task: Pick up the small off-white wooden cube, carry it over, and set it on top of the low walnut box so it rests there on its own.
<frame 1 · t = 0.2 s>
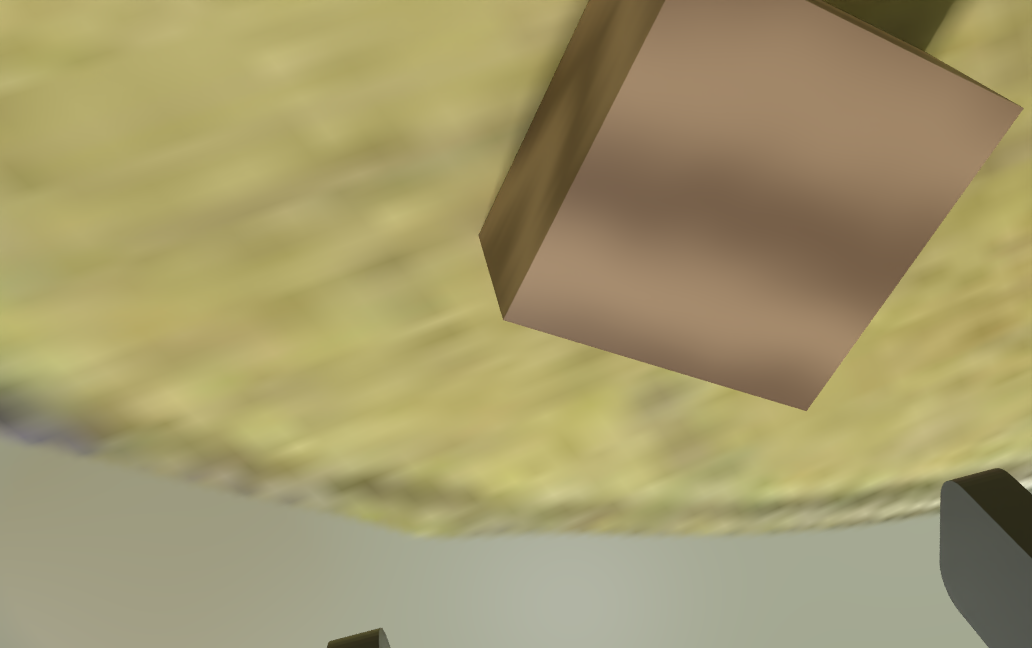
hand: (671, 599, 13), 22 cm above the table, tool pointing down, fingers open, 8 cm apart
walnut box: (695, 141, 34), on the table
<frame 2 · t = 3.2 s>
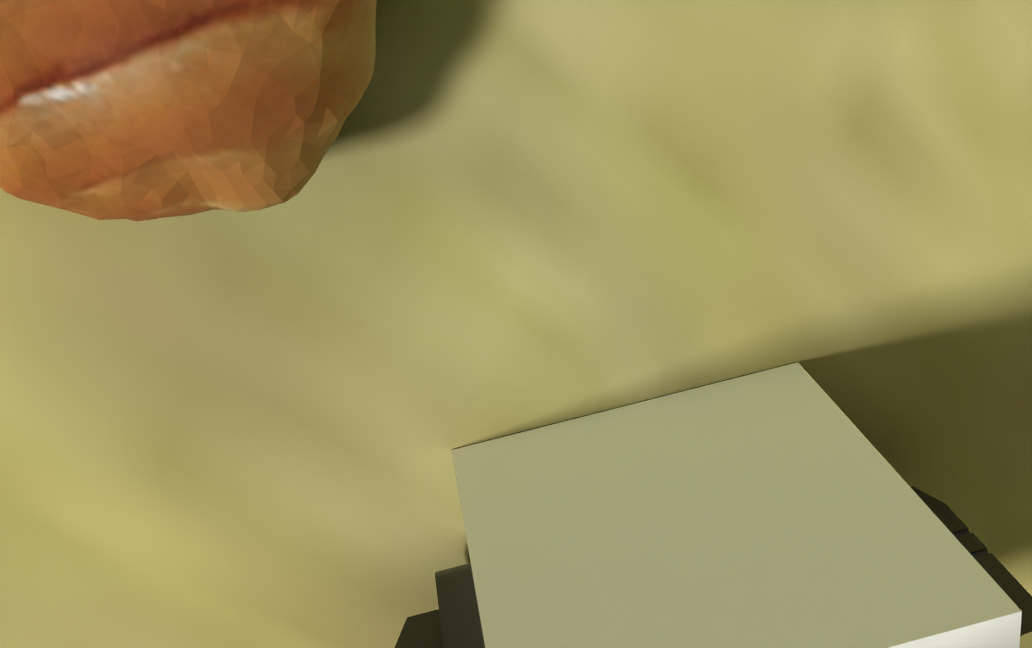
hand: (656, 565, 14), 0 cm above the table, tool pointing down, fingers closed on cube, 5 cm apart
cube: (649, 543, 14), on the table, touching gripper
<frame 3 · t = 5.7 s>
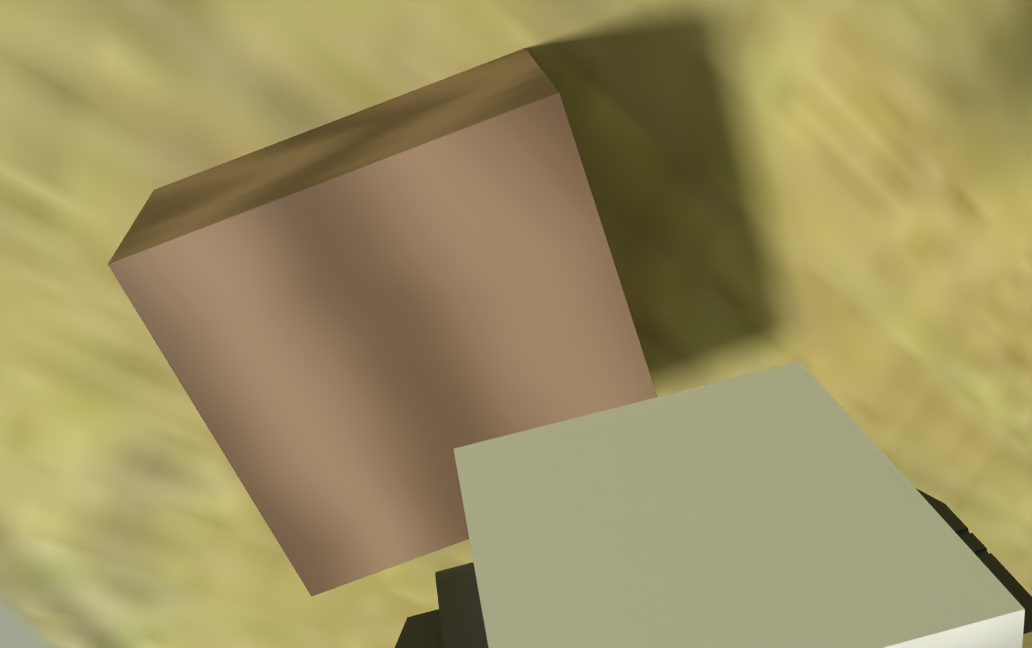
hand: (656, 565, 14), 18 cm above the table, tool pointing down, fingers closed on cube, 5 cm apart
cube: (651, 542, 14), point 18 cm above the table, touching gripper
walnut box: (412, 284, 32), on the table
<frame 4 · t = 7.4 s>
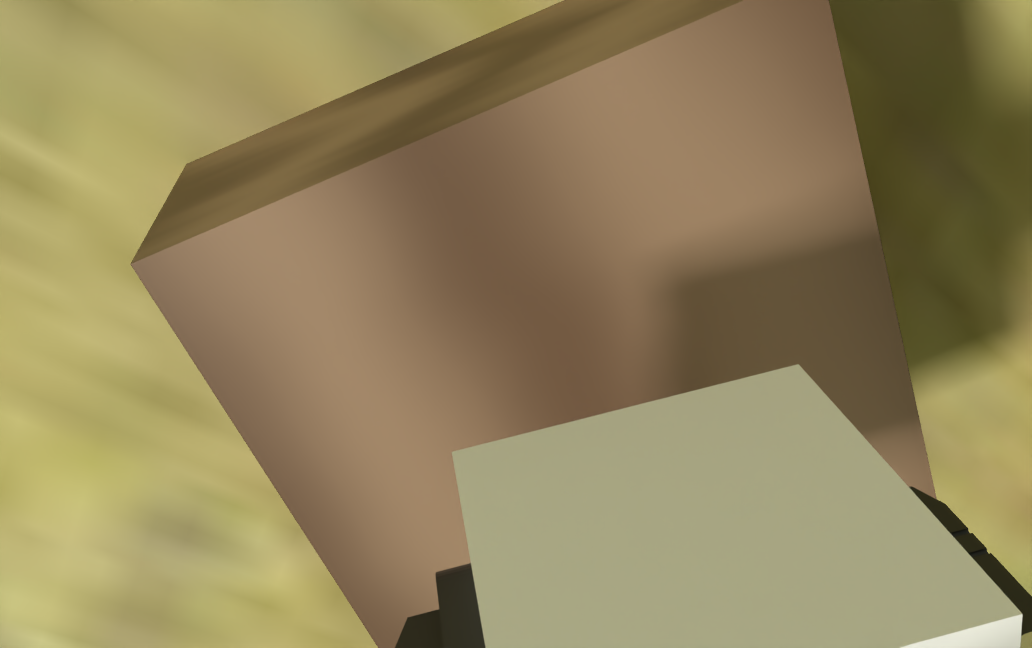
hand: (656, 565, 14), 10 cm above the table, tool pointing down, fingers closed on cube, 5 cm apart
cube: (649, 545, 14), point 10 cm above the table, touching gripper
walnut box: (538, 282, 23), on the table
when the fingers open (8 cm above the table, at t = 8.7 s): cube drops 2 cm, resting on walnut box.
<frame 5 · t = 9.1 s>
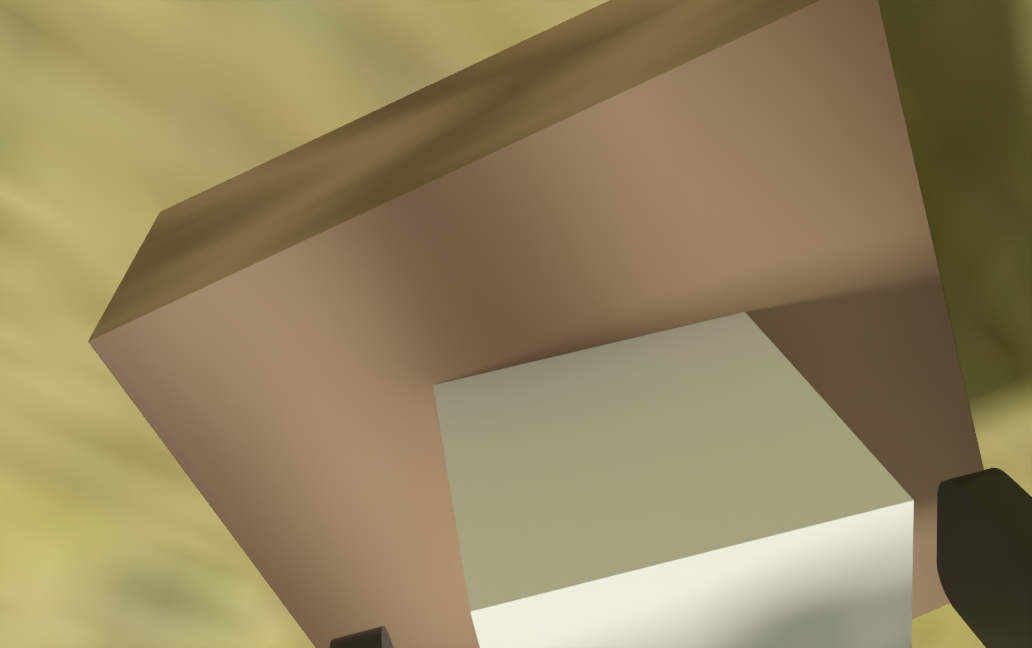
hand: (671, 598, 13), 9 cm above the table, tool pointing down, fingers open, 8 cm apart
cube: (611, 477, 16), point 6 cm above the table, touching walnut box
walnut box: (551, 324, 21), on the table, touching cube
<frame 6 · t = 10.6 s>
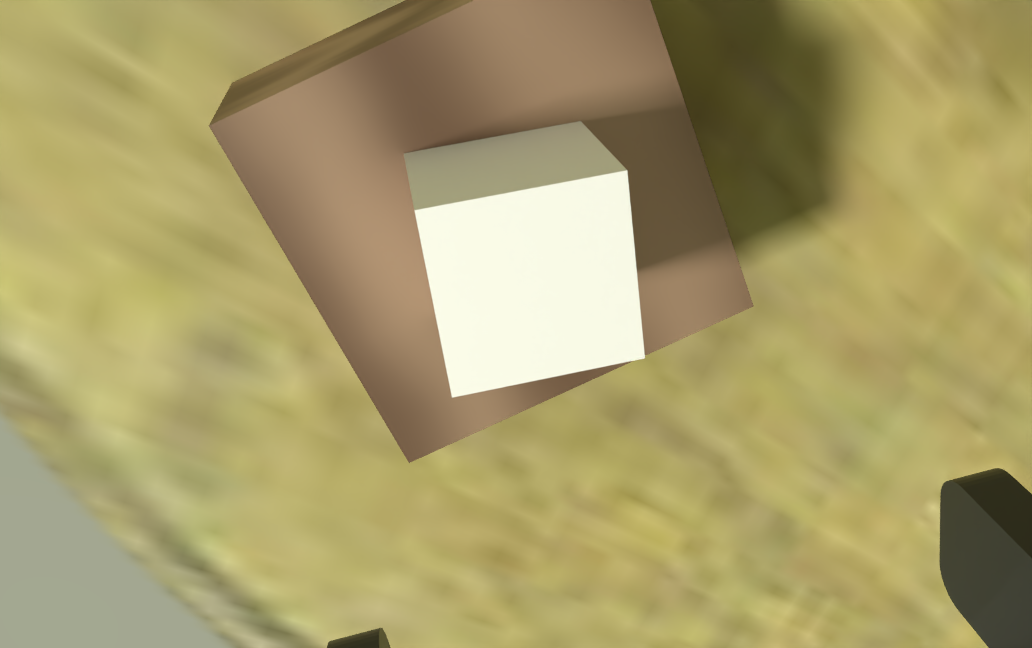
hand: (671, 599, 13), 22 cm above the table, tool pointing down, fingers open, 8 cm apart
cube: (505, 221, 27), point 6 cm above the table, touching walnut box
walnut box: (480, 166, 33), on the table, touching cube
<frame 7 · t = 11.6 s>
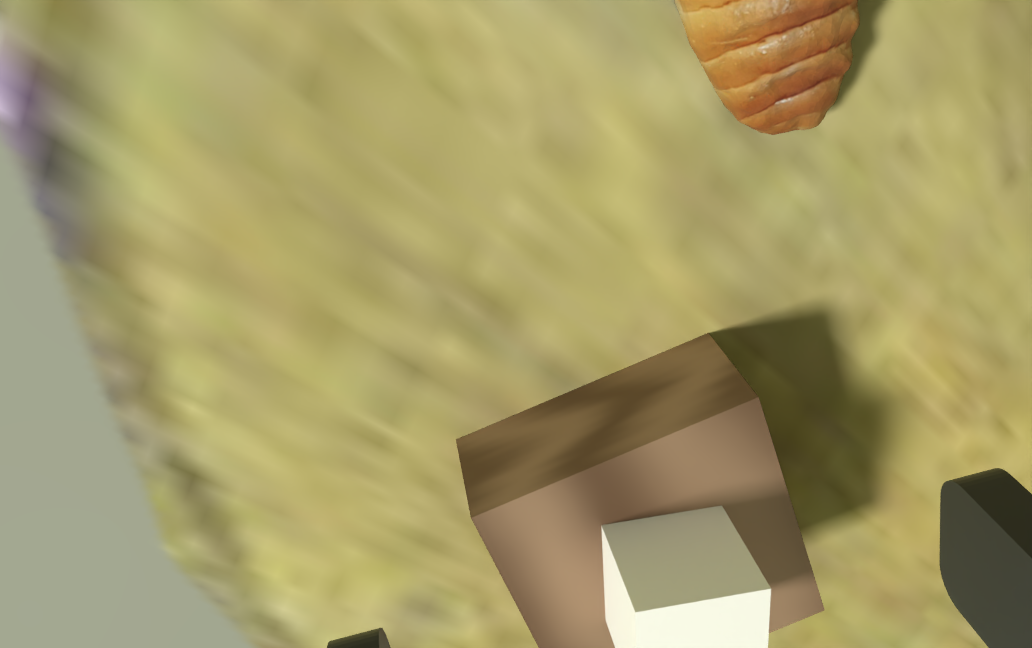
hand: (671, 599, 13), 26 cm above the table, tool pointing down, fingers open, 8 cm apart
cube: (662, 564, 39), point 6 cm above the table, touching walnut box
walnut box: (621, 483, 45), on the table, touching cube
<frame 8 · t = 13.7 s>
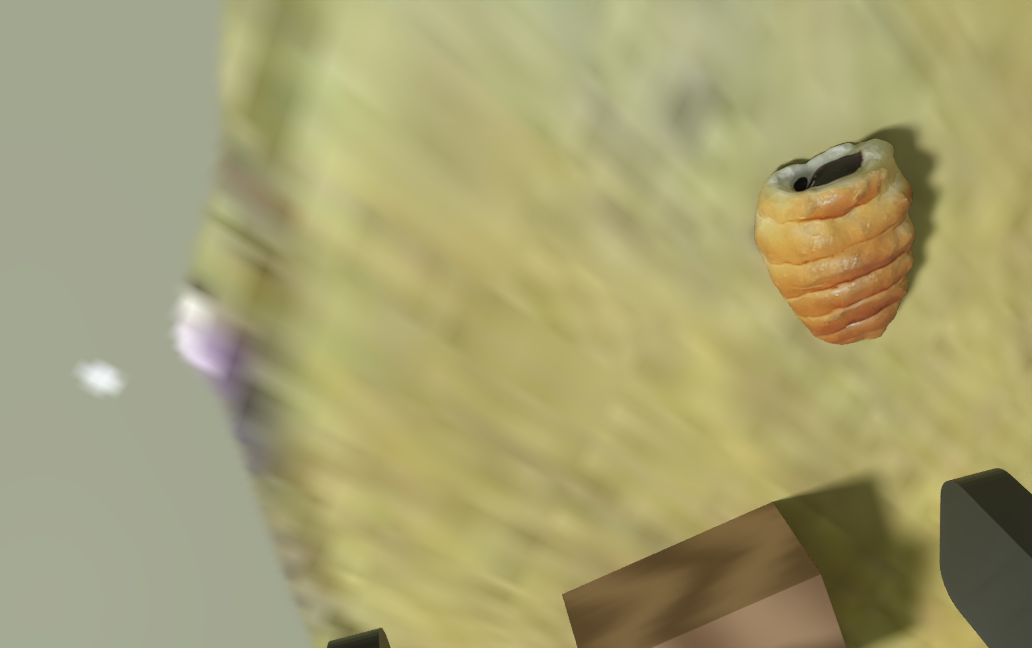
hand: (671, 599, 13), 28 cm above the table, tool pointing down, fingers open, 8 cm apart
pastry: (825, 226, 43), on the table
walnut box: (699, 620, 53), on the table
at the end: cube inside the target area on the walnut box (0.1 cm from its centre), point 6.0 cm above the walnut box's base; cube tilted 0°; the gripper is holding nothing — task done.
